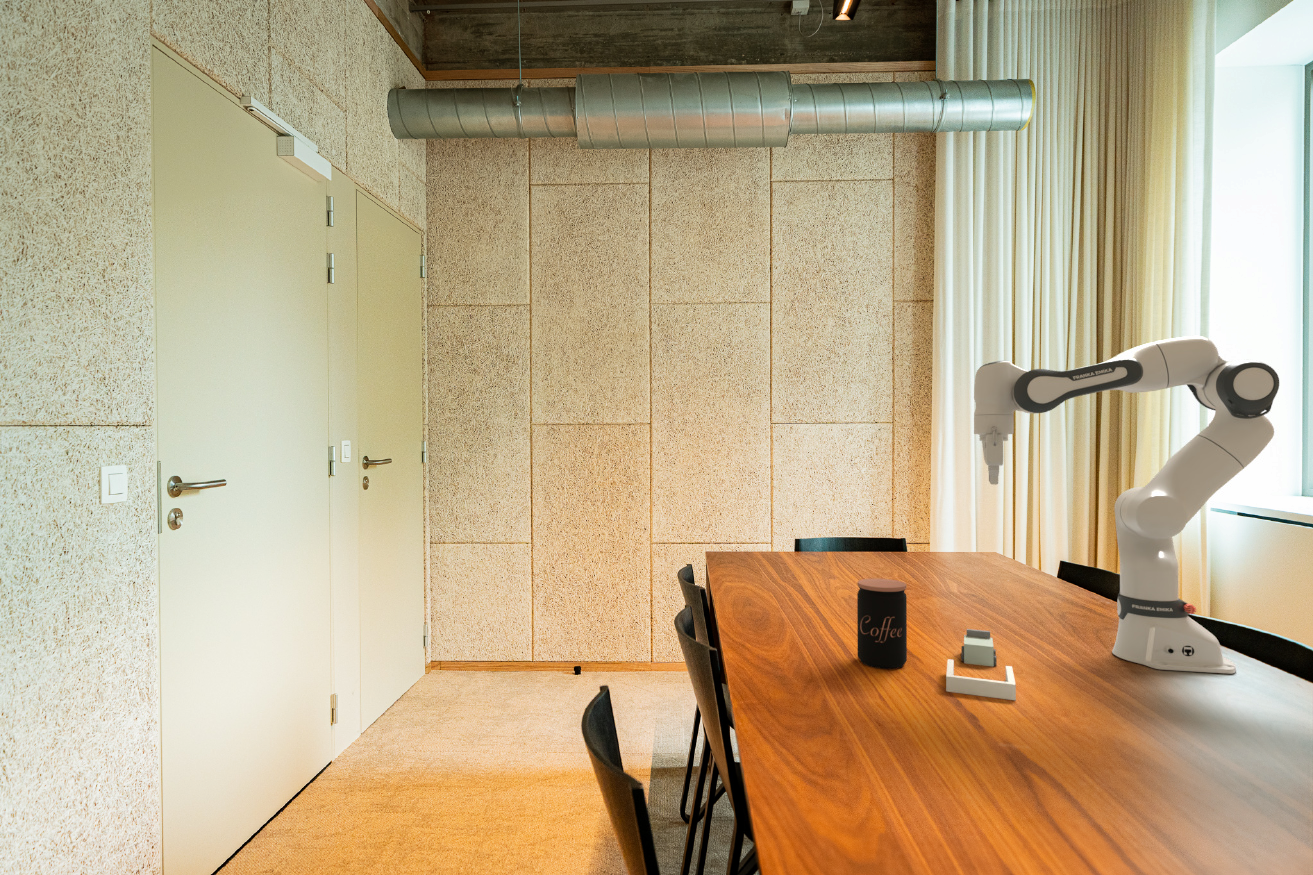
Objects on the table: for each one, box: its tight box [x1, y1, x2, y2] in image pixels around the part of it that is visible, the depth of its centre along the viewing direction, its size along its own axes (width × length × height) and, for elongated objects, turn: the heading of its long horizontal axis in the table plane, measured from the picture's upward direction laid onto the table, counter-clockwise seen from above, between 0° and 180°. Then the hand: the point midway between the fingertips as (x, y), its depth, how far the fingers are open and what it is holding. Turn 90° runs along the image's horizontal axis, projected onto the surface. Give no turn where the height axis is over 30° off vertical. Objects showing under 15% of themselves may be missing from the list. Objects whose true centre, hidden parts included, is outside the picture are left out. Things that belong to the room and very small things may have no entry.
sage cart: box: [960, 628, 998, 667], centre depth 161 cm, size 7×8×6 cm
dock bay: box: [945, 658, 1017, 701], centre depth 144 cm, size 12×12×3 cm
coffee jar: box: [856, 578, 908, 670], centre depth 159 cm, size 11×11×18 cm
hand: (993, 483), depth 174 cm, fingers open, 8 cm apart
